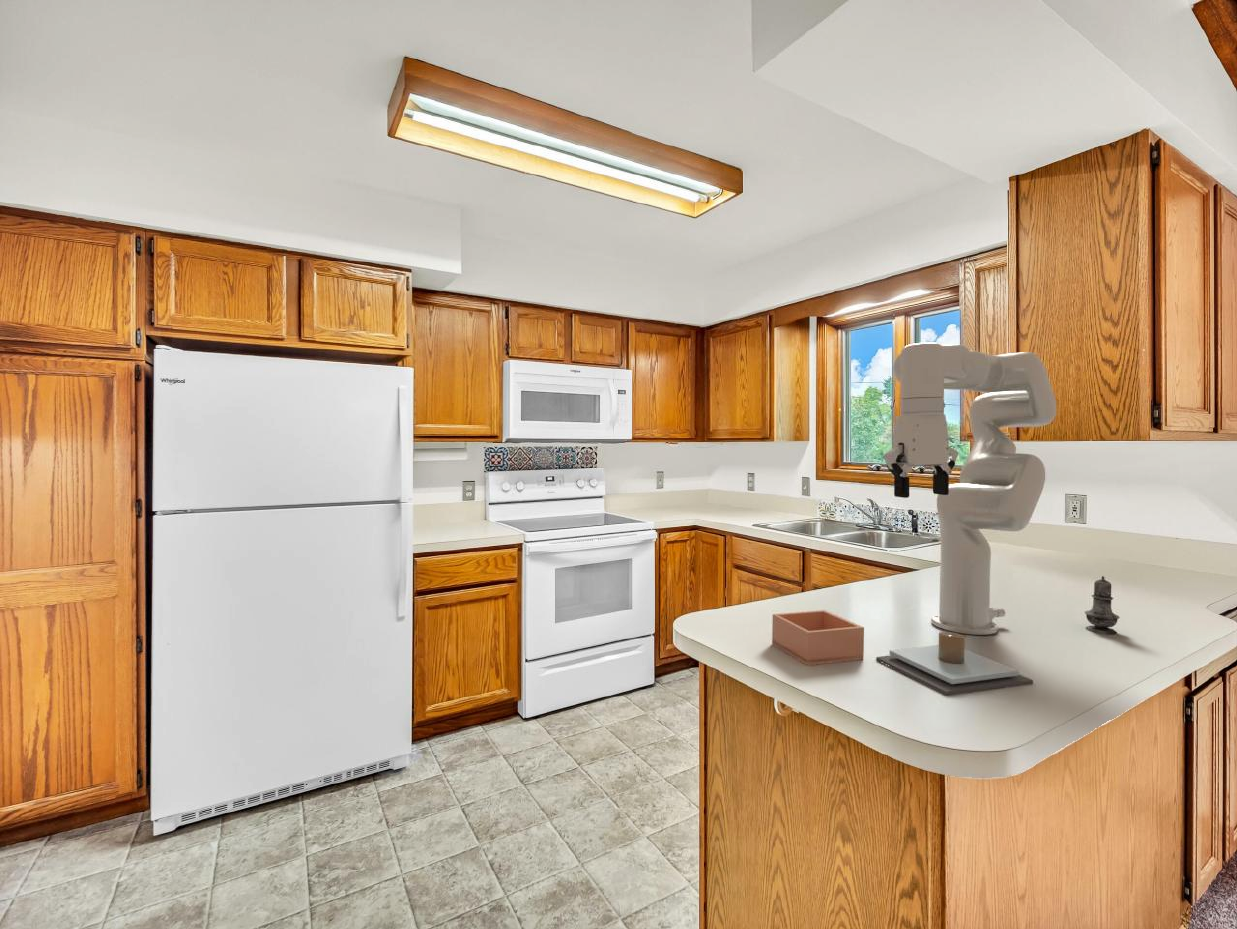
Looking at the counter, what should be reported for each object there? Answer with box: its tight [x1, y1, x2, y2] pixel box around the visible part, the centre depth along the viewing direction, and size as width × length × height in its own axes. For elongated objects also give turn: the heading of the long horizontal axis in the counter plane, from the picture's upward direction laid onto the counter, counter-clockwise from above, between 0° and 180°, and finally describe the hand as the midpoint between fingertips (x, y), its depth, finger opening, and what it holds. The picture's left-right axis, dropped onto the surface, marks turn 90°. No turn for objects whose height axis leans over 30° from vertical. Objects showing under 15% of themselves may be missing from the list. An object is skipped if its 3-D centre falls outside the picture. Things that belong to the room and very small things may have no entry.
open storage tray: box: [771, 609, 865, 667], centre depth 113 cm, size 12×12×6 cm
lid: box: [889, 631, 1020, 684], centre depth 103 cm, size 14×14×6 cm
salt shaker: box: [1084, 575, 1121, 635], centre depth 127 cm, size 6×6×12 cm
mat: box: [875, 654, 1034, 696], centre depth 104 cm, size 18×16×1 cm
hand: (921, 495), depth 115 cm, fingers open, 9 cm apart
